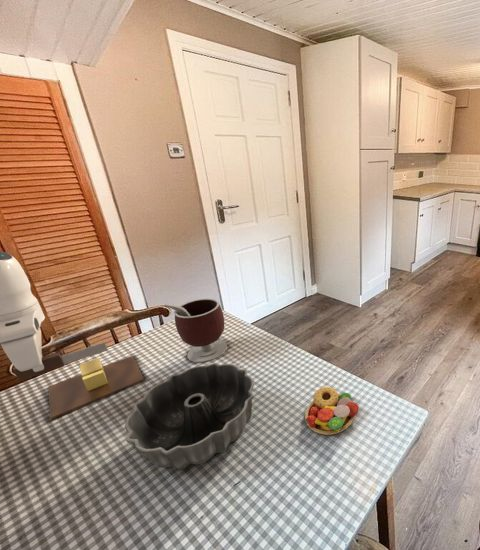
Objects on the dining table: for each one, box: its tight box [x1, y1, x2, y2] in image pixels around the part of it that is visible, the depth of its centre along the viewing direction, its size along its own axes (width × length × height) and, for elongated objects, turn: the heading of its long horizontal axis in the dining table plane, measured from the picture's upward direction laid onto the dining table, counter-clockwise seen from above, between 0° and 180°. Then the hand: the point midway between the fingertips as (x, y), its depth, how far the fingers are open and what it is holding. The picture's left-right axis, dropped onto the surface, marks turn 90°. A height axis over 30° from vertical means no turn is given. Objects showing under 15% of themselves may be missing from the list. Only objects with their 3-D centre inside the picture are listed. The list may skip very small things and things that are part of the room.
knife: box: [13, 341, 108, 382], centre depth 79 cm, size 17×2×4 cm, turn 135°
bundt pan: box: [124, 362, 255, 471], centre depth 72 cm, size 26×26×10 cm
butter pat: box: [82, 370, 108, 391], centre depth 86 cm, size 4×2×4 cm, turn 135°
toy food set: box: [304, 386, 360, 436], centre depth 78 cm, size 13×13×3 cm
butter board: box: [48, 355, 145, 421], centre depth 88 cm, size 20×16×5 cm
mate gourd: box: [164, 298, 228, 363], centre depth 100 cm, size 16×14×20 cm
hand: (39, 366), depth 76 cm, fingers closed on knife, 2 cm apart
